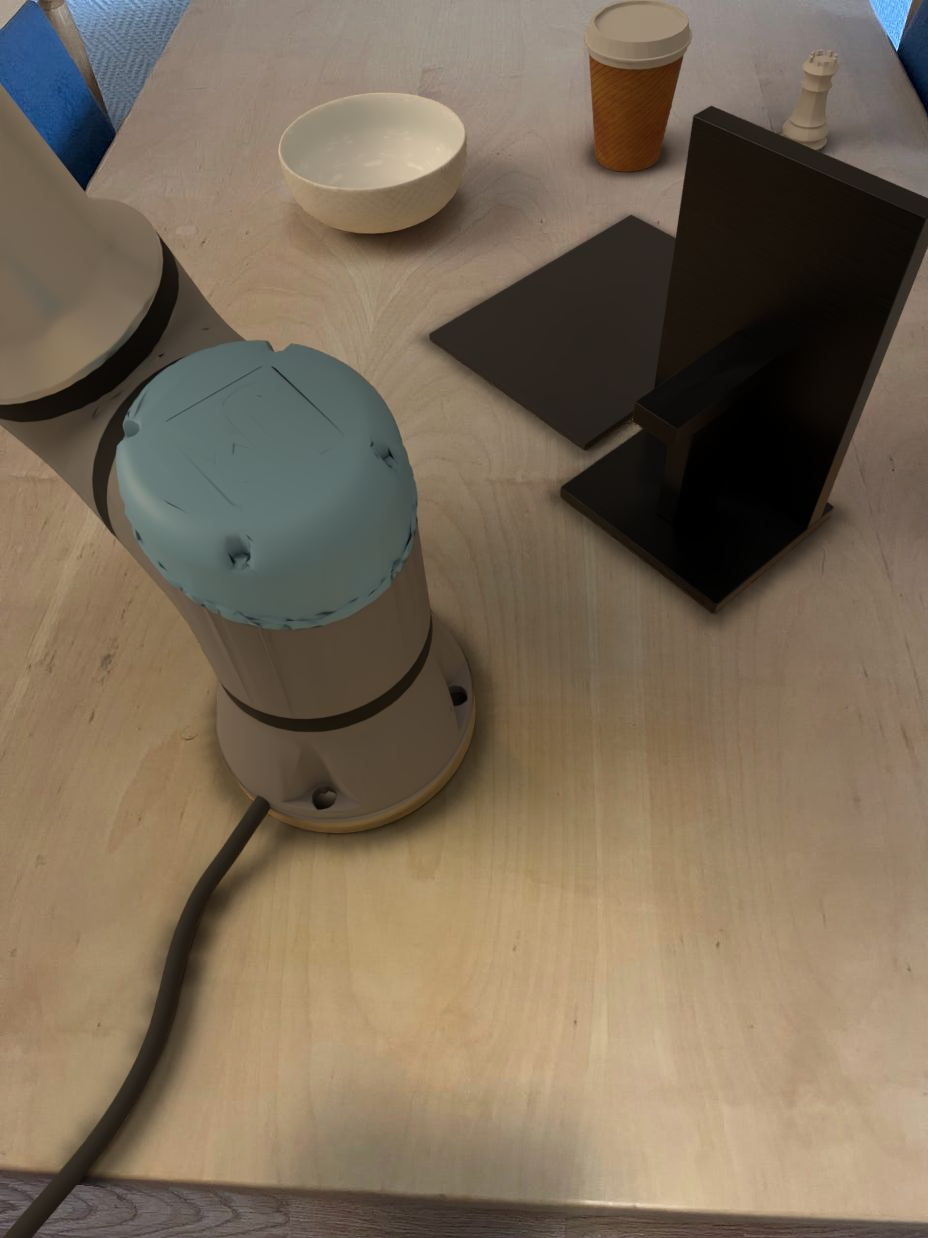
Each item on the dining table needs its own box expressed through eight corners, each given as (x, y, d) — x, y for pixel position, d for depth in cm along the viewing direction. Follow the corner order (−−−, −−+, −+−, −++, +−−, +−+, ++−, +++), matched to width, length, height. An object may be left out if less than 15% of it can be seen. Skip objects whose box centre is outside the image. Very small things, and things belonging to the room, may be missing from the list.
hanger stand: (713, 614, 57) (803, 304, 39) (559, 496, 64) (571, 182, 45) (830, 516, 61) (963, 191, 43) (674, 414, 68) (729, 94, 49)
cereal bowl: (353, 286, 80) (339, 210, 74) (262, 207, 88) (244, 134, 82) (506, 213, 85) (504, 137, 79) (407, 145, 93) (398, 72, 87)
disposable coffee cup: (672, 183, 86) (691, 45, 76) (572, 178, 87) (578, 42, 78) (679, 132, 91) (697, -3, 81) (585, 128, 93) (591, -5, 83)
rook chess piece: (827, 156, 87) (851, 67, 80) (779, 155, 88) (799, 66, 81) (824, 132, 90) (847, 44, 83) (777, 131, 90) (796, 43, 84)
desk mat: (584, 450, 66) (584, 444, 66) (429, 339, 75) (428, 333, 74) (791, 305, 74) (793, 299, 74) (630, 220, 83) (631, 213, 82)
